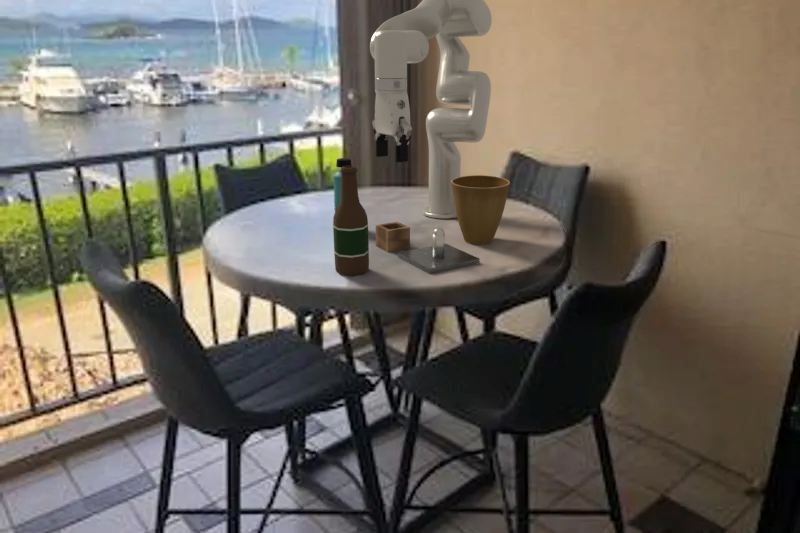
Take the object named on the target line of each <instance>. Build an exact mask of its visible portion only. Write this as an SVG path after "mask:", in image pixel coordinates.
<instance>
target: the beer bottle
mask: <svg viewBox="0 0 800 533" xmlns="http://www.w3.org/2000/svg"><path fill="white" fill-rule="evenodd" d="M340 172H341V173H342V176H341V200H340V204H339V206H338V207H337V209H336V211H335V210H334V214H333V218H332V219H333V220H332V223H333V224H332V227H333V229H332V230H333V231H332V233H333V248H334V249H333V251H334V267H335V271H336V272H337V274H339V275H340V276H346V277H355V276H360V275H361V276H362V275H365V273H367V272H368V271H369V268H370V266H369V265H370V250H369V244H370V243H369V222H368V221H369V219H368V215H367V213H366V209H365V208H364V206H363V205H362V204H361V202H360V198H359V189H358V180H357V177H358V176H357V173H358V168H357V166H354V165H352V166H343V167H340Z"/></svg>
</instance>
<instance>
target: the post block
mask: <svg viewBox="0 0 800 533" xmlns="http://www.w3.org/2000/svg"><path fill="white" fill-rule="evenodd" d="M445 237H446V236H445V230H444V229H442V227H436V228H434V229H433V231H432V246H426V247H422V248H421V247H420V248H415V249H411V250H406V251H405V250H404V251H399V252H398V254H397V256H398V258H399V259H401V260H402V261H405V262H407V263H408V262H409V264H410V265H412V266H414V265H415V266H414V267H416V268H418V269H419V268H420V270H421V269H422V271H423V272H425V273H427V274H429V275H431V273H432V274H435V273H441V272H445V271H444V270H446V271H449V269H451V270H454V268H455V269H460V268H464V267H463V266H465V267H468V266H467V265H470V266H474V265H478V264H477V263H479V264H480V259H481V258H479V257H477V256H474V255H473V254H470V253H468V252H466V251H463V250H461V249H459V248H457V247H455V246H453V245H450V244H448V243H445ZM473 264H474V265H473ZM459 267H460V268H459ZM440 271H441V272H440Z"/></svg>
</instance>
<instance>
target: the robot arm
mask: <svg viewBox="0 0 800 533" xmlns="http://www.w3.org/2000/svg"><path fill="white" fill-rule="evenodd" d="M491 26H492V12H491V9H490V7H489V5H488V4H487V3H486V1H485V0H421V1H420V3H418V5H417V6H416V7H415V8H412V9H410V10H407V11H405V12H403V13H399V14H398V15H395V16H393V17H391V18H389V19H387V20H385V21H384V22H383V23H381V24H380V26H379V27H378V28H377V29H376V30H375V32H374V33H373V34H372V36H371V38H370V43H369V52H370V55H371V57H372V59H373V60H374V92H375V99H374V100H375V102H374V119H373V120H372V121H371V122H372V127H373V134H374V141H375V156H376V157H378V158H381V157H388V155H389V145H388V144H389V143H388V142H389V140H388V139H387V137H393V138H394V140H395V142H396V144H395V146H394V147H395V148H394V149H395V150H394V154H395V156H394V160H395V162H396V163H407V162H408V161H409V144H410V139H411V137H412V136H411V134H412V132H413V131H412V130H413V128H412V125H411V110H410V109H411V108H410V102H409V95H408V64H419V63H421V62H423V61H424V60H425V59H426V58H427V56H428V54H429V51H430V50H429V49H430V43H429V40H430V39H432V38H436V42H437V45H438V47H439V51H440V52H439V53H440V60H439V66H438V74H437V81H436V86H435V87H436V89H435V90H436V91H435V94H436V95H435V96H436V99H437V101H439V103H441V104H445V105H452V106H453V105H455V106H470V108H461V107H460V108H458V107H438V108H434V109H432V110H430V111H429V113H428V114H427V116H426V118H425V129H426V134H427V135H426V137H427V144H428V206H427V207H424V208H423V211H422V213H423V215H424V216H426V217H429V218H433V219H442V220H443V219H458V218H457V214H456V210H455V205H454V199H453V192H452V184H451V181H452V180H453V179H454V178H457V177H461V172H462V171H461V170H462V169H461V166H462V161H461V160H462V157H461V152H460V150H459V148H458V146H457V145H456V144H455V143H471V144H472V143H473V144H475V143H479V142H480V141H482V140H483V139H484V136H485V133H486V128H487V122H488V115H489V108H490V101H491V93H492V83H491V79H490V77H489V75H488V74H487V73H485V72H484V71H479V70H469V67H470V60H471V57H470V56H471V55H470V52H469V51H468V49H467V47H466V45H465V44H464V43H463V42H462V40H461V39H460V38H461V37H482V36H485V35H486V34H488V33H489V32H490V29H491ZM459 37H460V38H459Z"/></svg>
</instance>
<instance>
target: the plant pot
mask: <svg viewBox="0 0 800 533" xmlns="http://www.w3.org/2000/svg"><path fill="white" fill-rule="evenodd" d="M451 184H452V192H453V199H454V205H455V210H456V214H457V218H456V219H457V222H458V225H459V228H460V232H461V234H462V236H463V239H464V242H466V243H468V242H469V243H468V244H471V243H473V245H487V244H490V243H492V242H493V240H494V238H495V235H496V233H497V232H498V229H499V225H500V223H501V220H502V217H503V214H504V210H505V208H506V202H507V198H508V193H509V189H510V184H511V182H510V180H508V179H506V178H504V177H500V176H495V175H485V174H482V175H479V174H478V175H477V174H473V175H464V176H460V177H457V178H454V179H453V180H452V181H451ZM486 243H487V244H486Z"/></svg>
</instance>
